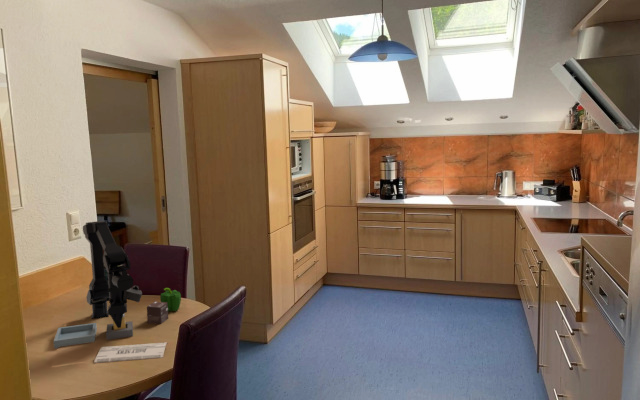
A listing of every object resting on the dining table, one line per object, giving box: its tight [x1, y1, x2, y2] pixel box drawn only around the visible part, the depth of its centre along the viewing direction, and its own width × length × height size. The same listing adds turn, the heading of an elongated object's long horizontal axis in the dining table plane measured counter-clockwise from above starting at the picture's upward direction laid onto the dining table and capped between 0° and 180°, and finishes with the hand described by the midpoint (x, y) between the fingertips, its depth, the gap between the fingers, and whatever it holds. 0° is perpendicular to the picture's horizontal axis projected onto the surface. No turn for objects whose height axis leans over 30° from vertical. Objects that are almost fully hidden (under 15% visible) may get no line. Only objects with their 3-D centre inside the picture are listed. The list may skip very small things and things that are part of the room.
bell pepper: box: [159, 287, 182, 312], centre depth 212 cm, size 8×8×10 cm
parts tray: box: [53, 322, 98, 349], centre depth 183 cm, size 13×13×3 cm
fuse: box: [112, 313, 126, 330], centre depth 186 cm, size 3×4×7 cm
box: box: [146, 301, 169, 325], centre depth 199 cm, size 6×6×7 cm
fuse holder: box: [105, 320, 134, 341], centre depth 187 cm, size 9×9×3 cm
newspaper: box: [94, 341, 168, 364], centre depth 172 cm, size 23×12×2 cm, turn 99°
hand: (119, 324), depth 186 cm, fingers open, 6 cm apart
